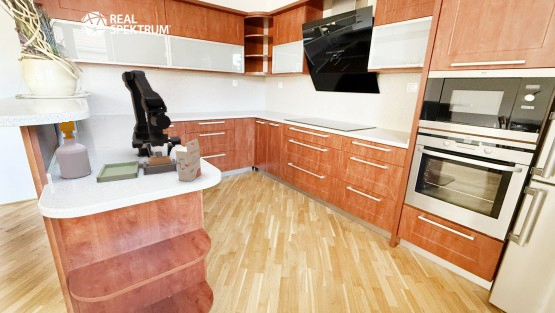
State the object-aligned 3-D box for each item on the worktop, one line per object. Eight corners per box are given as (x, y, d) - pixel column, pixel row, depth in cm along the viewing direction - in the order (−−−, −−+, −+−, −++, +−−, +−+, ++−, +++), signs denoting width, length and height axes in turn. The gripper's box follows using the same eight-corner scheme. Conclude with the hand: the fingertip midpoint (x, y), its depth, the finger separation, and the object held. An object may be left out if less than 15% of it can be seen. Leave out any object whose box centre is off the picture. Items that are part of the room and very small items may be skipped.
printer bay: (144, 168, 102) (143, 161, 102) (175, 165, 108) (174, 158, 107) (144, 175, 96) (143, 167, 95) (177, 171, 101) (176, 164, 100)
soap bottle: (89, 169, 100) (77, 108, 93) (93, 175, 94) (80, 110, 87) (60, 174, 94) (45, 109, 87) (63, 181, 88) (46, 112, 81)
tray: (104, 168, 101) (103, 164, 101) (139, 165, 107) (138, 160, 106) (97, 182, 87) (96, 177, 87) (137, 177, 93) (136, 172, 92)
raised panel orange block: (169, 162, 111) (168, 150, 110) (171, 170, 102) (170, 157, 100) (149, 164, 108) (148, 152, 106) (149, 172, 98) (148, 159, 97)
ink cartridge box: (190, 172, 99) (187, 137, 95) (201, 174, 98) (199, 138, 94) (177, 180, 91) (174, 142, 87) (190, 181, 90) (186, 143, 86)
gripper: (128, 130, 93) (134, 169, 97) (180, 127, 101) (184, 163, 105) (130, 125, 102) (135, 161, 107) (178, 123, 110) (181, 156, 115)
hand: (159, 160), depth 108 cm, fingers open, 7 cm apart
